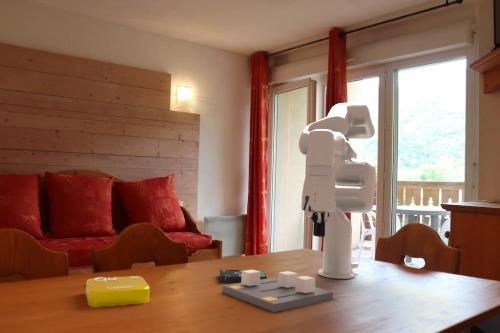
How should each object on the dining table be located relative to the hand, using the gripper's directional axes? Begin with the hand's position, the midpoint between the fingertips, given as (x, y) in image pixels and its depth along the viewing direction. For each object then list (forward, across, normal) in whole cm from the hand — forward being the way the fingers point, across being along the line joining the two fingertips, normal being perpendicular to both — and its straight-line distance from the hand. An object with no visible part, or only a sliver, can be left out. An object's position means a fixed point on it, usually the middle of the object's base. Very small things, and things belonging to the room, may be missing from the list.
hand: (318, 236), depth 128 cm
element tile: (+17, +50, -25) cm, 58 cm away
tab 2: (+14, +7, -5) cm, 17 cm away
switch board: (+17, +11, -5) cm, 21 cm away
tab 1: (+14, +15, -12) cm, 24 cm away
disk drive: (+18, +8, -26) cm, 32 cm away
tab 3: (+14, +7, +2) cm, 16 cm away
